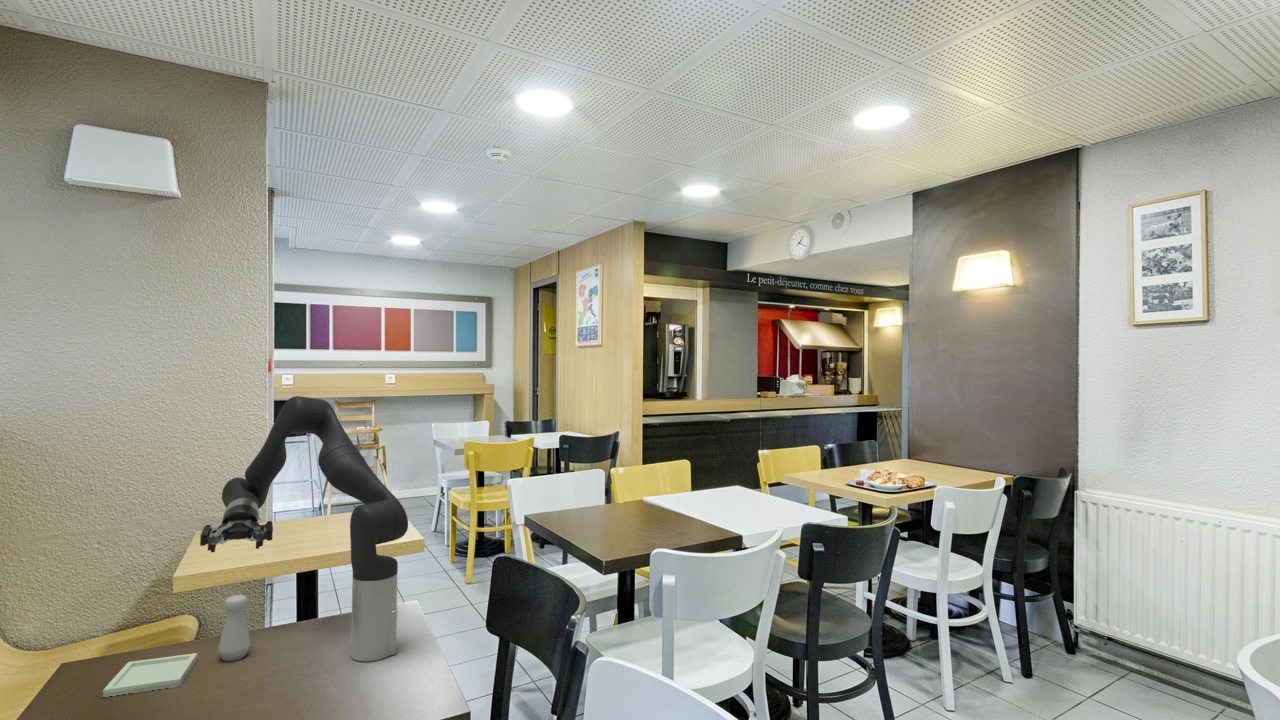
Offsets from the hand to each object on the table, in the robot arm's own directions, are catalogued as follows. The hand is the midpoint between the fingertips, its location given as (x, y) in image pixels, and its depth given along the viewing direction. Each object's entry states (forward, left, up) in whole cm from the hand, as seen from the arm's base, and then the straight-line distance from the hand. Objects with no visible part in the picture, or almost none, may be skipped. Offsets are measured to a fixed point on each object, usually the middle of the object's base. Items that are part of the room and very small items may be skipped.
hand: (235, 546), depth 140 cm
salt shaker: (-2, +7, -22) cm, 23 cm away
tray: (+11, +12, -22) cm, 28 cm away
